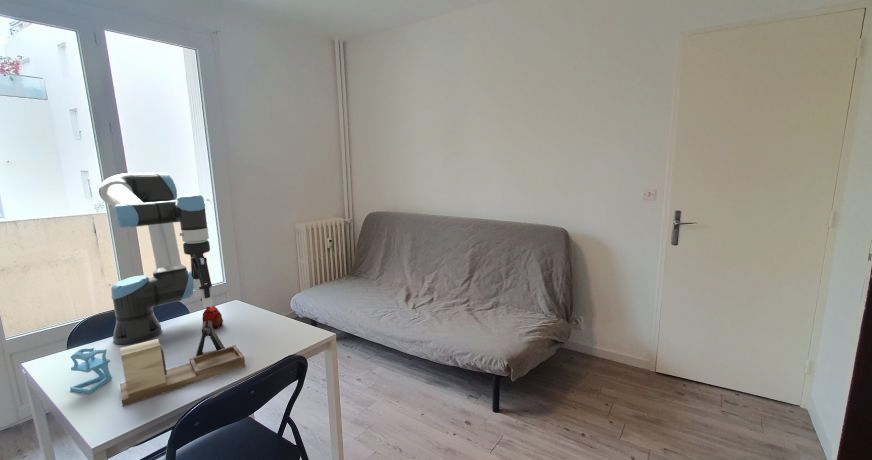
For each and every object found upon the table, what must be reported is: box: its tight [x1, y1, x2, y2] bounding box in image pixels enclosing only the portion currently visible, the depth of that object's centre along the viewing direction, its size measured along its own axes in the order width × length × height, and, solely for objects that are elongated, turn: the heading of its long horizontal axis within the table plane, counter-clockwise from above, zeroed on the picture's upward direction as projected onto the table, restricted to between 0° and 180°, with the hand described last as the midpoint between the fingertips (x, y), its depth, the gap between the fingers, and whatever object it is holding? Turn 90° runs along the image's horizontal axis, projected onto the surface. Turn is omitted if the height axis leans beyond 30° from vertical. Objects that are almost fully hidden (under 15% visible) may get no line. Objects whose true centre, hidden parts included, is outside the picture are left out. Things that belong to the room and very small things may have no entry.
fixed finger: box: [119, 338, 167, 394], centre depth 114 cm, size 6×10×12 cm, turn 131°
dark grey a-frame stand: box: [195, 320, 226, 357], centre depth 134 cm, size 9×6×12 cm, turn 118°
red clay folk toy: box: [200, 297, 224, 331], centre depth 157 cm, size 8×7×15 cm
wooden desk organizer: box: [119, 344, 246, 408], centre depth 121 cm, size 11×32×4 cm, turn 131°
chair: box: [69, 347, 113, 394], centre depth 117 cm, size 8×8×12 cm
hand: (203, 301), depth 132 cm, fingers open, 13 cm apart
